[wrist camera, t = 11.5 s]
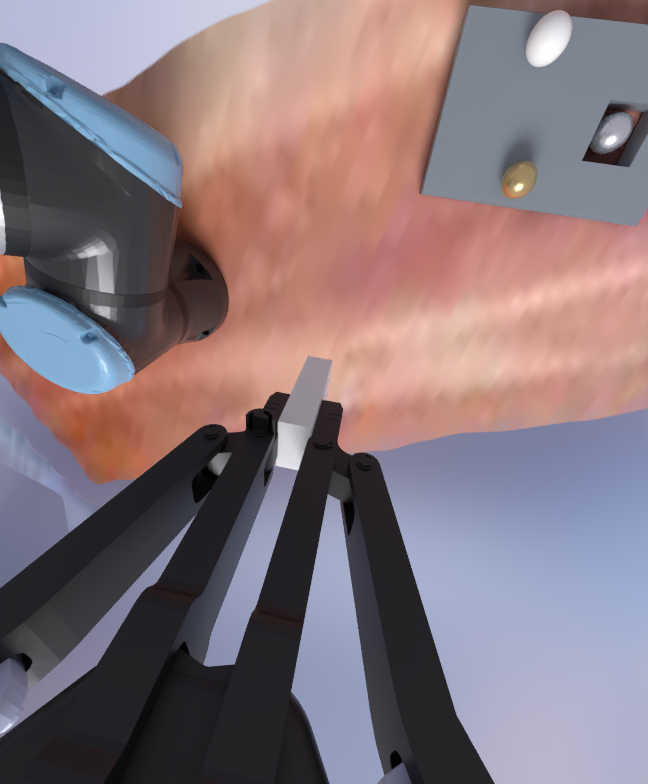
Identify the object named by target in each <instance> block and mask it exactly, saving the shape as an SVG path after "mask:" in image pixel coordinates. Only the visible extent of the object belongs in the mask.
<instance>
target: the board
mask: <svg viewBox="0 0 648 784" xmlns="http://www.w3.org/2000/svg"><path fill="white" fill-rule="evenodd" d="M545 15H547V14H546V13H537V12H528V11H519V10H510V9H501V8H491V7H482V6H473V5H470V6H469V8H468V10H467V12H466V15H465V17H464V19H463V23H462V27H461V31H460V35H459V39H458V43H457V47H456V51H455V55H454V59H453V63H452V67H451V71H450V75H449V79H448V83H447V87H446V91H445V95H444V99H443V103H442V107H441V111H440V115H439V119H438V123H437V127H436V131H435V135H434V139H433V143H432V147H431V151H430V155H429V159H428V163H427V167H426V171H425V175H424V179H423V183H422V187H421V191H420V194H422V195H429V196H436V197H442V198H449V199H456V200H462V201H469V202H475V203H482V204H489V205H495V206H502V207H509V208H515V209H522V210H529V211H535V212H542V213H548V214H555V215H562V216H568V217H575V218H582V219H588V220H595V221H602V222H608V223H615V224H622V225H631V226H637V224H638V222H639V221H640V219H641V217H642V216H643V214H644V213H645V211H646V209H647V208H648V25H647V24H638V23H629V22H620V21H610V20H601V19H592V18H583V17H574V16H570V17H571V20H572V33H571V37H570V40H569V42H568V44H567V46H566V48H565V49H564V51H563V52H562V53H561V55H560V56H559V57H558V58H557V59H556V60H554V61H553V62H552V63H550V64H548V65H546V66H543V67H535V66H532V65H531V64H530V63H529V62H528V60H527V57H526V44H527V41H528V38H529V35H530V33H531V31H532V30H533V28H534V27H535V25H536V24H537V23H538V21H539V20H540V19H541V18H543V17H544V16H545ZM606 108H614V109H622V110H630V111H638V112H643V114H642V116H641V118H640V120H639V122H638V124H637V126H636V128H635V130H634V132H633V133H632V135H631V137H630V139H629V141H628V143H627V145H626V147H625V149H624V151H623V153H622V155H621V156H620V158H619V160H618V162H617V164H616V166H615V165H608V164H601V163H594V162H587V161H582V159H583V157H584V155H585V153H586V151H587V149H588V146H589V144H590V142H591V140H592V138H593V136H594V134H595V132H596V129H597V127H598V125H599V123H600V121H601V119H602V117H603V114H604V112H605V110H606ZM519 161H529V162H532V163H533V164H534V165H535V166H536V168H537V172H538V177H537V181H536V183H535V185H534V187H533V188H532V189H531V191H530V192H529V193H527V194H526V195H524V196H523V197H520V198H517V199H510V198H507V197H506V196H505V195H504V194H503V193H502V191H501V180H502V177H503V175H504V173H505V172H506V170H507V169H508V168H509V167H510V166H512V165H513V164H515V163H517V162H519Z"/></svg>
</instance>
